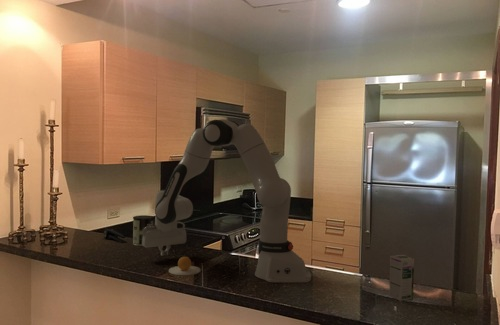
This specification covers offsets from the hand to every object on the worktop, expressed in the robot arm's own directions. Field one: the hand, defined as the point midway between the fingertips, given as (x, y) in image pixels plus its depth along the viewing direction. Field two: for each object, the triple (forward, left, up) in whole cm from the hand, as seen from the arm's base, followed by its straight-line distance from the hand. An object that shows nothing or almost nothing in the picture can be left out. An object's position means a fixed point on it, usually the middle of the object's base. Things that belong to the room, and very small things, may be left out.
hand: (164, 255), depth 184 cm
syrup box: (-96, +31, -2) cm, 101 cm away
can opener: (+38, -30, -2) cm, 48 cm away
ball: (-14, +15, +1) cm, 20 cm away
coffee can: (+20, -25, -2) cm, 32 cm away
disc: (-14, +16, -2) cm, 21 cm away
